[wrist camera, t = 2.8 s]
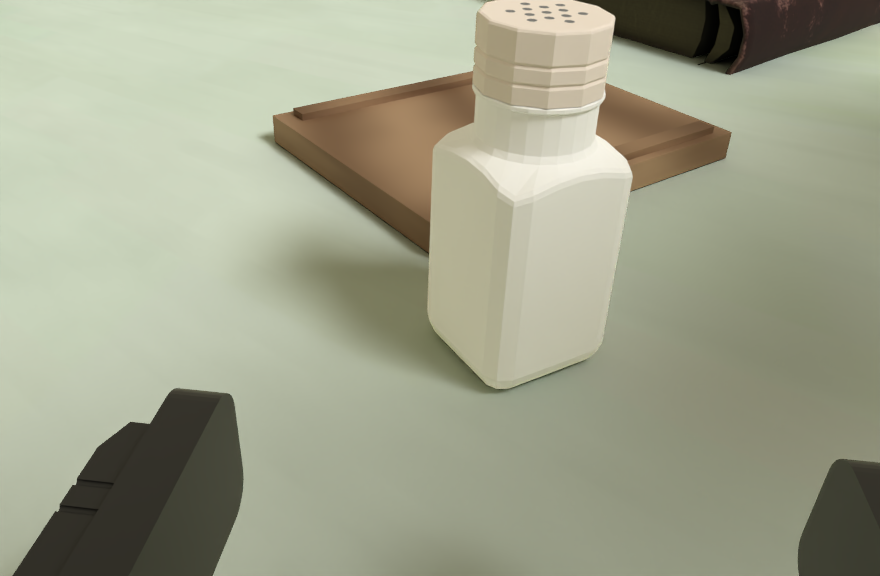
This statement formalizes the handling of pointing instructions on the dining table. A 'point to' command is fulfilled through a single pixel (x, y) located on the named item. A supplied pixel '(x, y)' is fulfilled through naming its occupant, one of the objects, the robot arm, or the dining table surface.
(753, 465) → the dining table surface
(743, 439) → the dining table surface
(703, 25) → the diary
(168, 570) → the robot arm
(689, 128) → the walnut board
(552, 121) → the salt shaker
